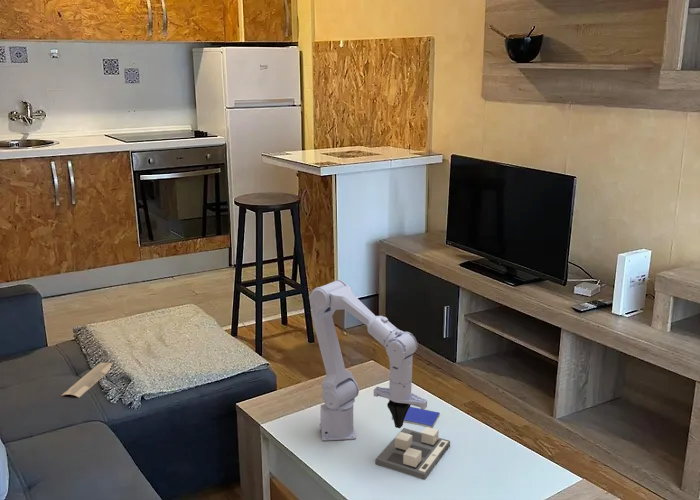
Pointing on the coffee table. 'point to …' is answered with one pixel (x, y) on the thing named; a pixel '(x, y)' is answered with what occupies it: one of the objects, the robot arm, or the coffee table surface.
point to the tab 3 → (430, 435)
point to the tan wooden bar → (88, 380)
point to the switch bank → (429, 455)
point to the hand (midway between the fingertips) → (399, 426)
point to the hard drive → (421, 417)
